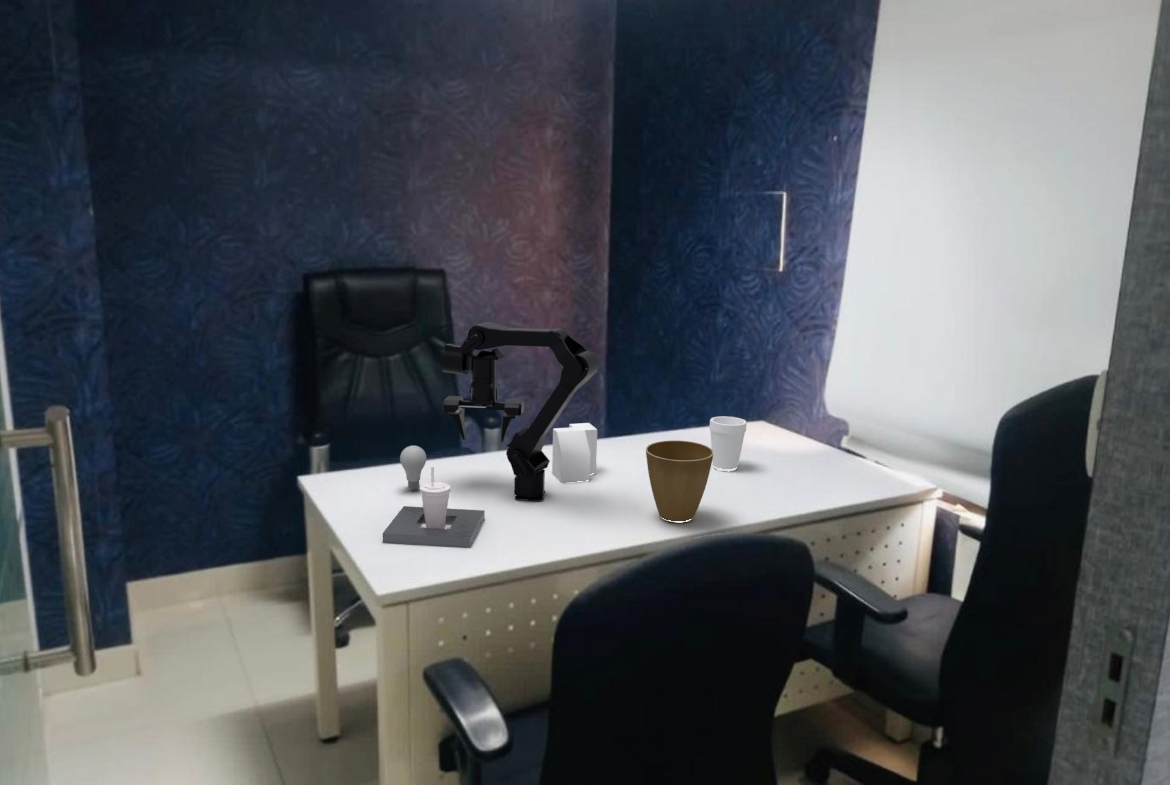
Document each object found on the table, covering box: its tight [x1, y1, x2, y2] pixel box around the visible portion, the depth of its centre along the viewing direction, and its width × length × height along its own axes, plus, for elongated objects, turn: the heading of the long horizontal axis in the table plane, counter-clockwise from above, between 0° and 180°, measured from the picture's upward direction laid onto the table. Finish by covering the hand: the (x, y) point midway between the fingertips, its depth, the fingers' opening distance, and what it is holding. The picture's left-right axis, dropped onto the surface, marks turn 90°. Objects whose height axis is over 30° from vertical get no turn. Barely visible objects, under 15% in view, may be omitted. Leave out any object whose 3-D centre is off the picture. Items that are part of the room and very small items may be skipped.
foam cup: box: [709, 415, 748, 469], centre depth 237 cm, size 10×9×13 cm
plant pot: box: [645, 439, 714, 521], centre depth 199 cm, size 15×15×16 cm
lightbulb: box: [399, 445, 427, 491], centre depth 212 cm, size 6×6×11 cm
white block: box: [551, 422, 598, 484], centre depth 228 cm, size 11×11×12 cm
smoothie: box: [419, 466, 452, 529], centre depth 188 cm, size 6×6×14 cm
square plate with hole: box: [382, 505, 486, 548], centre depth 189 cm, size 18×16×2 cm
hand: (483, 440), depth 214 cm, fingers open, 9 cm apart
